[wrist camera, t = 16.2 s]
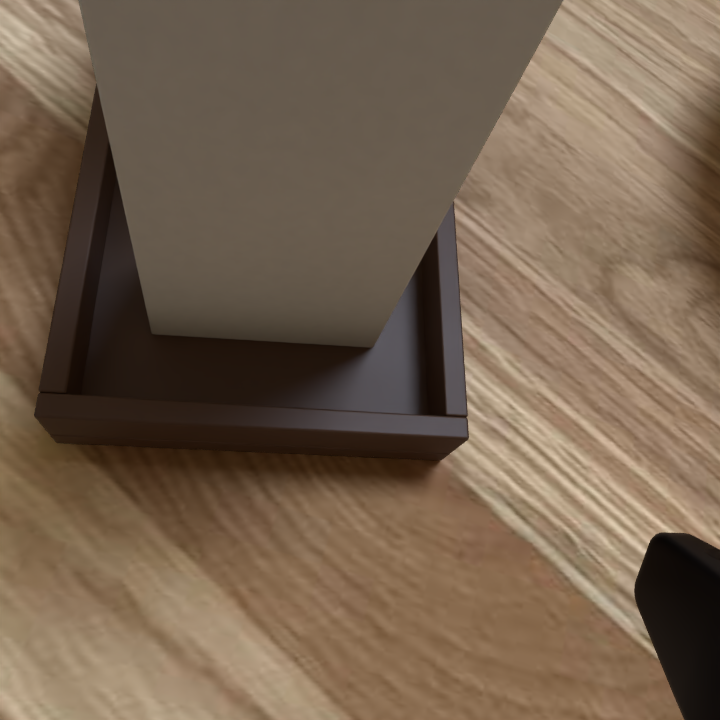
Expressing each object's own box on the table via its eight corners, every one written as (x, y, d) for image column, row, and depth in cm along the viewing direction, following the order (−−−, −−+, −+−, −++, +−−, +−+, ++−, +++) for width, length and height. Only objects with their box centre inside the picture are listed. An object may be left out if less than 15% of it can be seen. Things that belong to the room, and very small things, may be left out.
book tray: (442, 460, 19) (469, 439, 17) (55, 443, 17) (32, 416, 15) (419, 11, 25) (438, -45, 23) (138, -36, 23) (130, -102, 21)
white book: (373, 348, 19) (784, -398, 5) (151, 334, 18) (-72, -664, 4) (371, 270, 20) (716, -539, 6) (160, 252, 19) (3, -786, 5)
